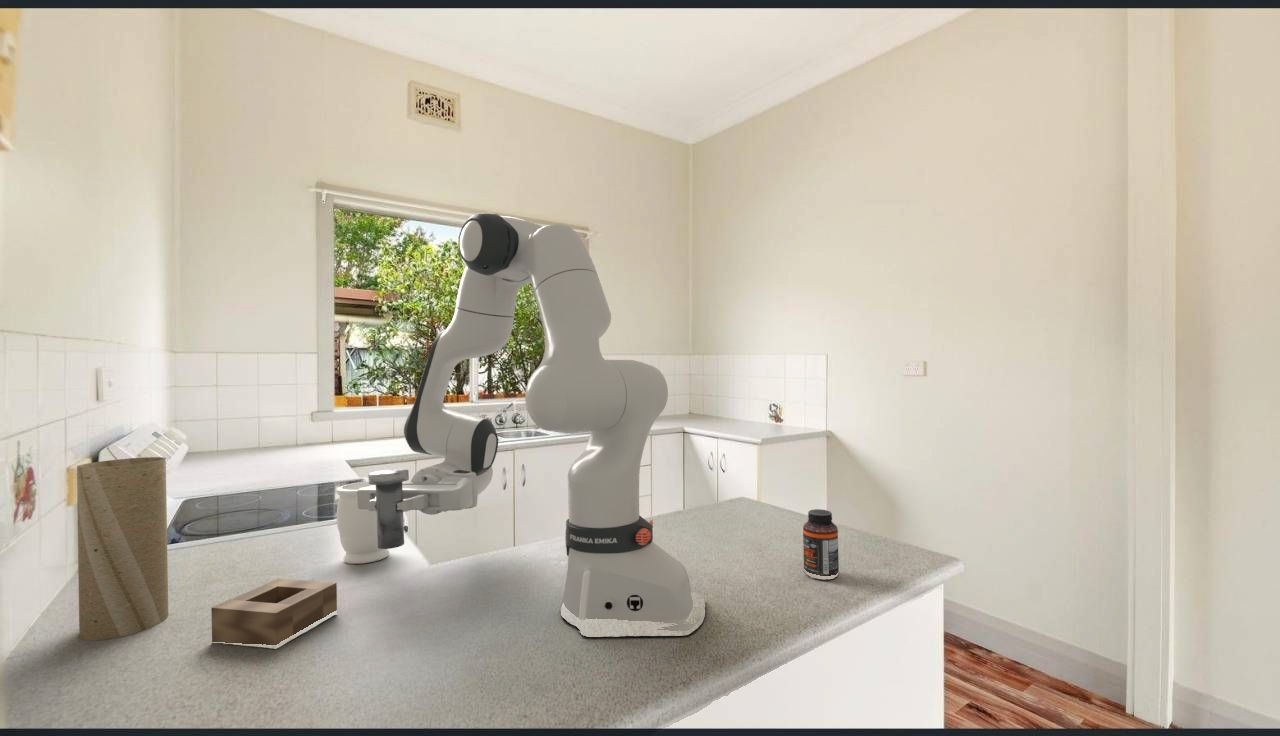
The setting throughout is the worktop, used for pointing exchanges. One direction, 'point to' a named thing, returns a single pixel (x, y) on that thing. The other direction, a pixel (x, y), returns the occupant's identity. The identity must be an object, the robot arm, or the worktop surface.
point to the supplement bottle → (820, 544)
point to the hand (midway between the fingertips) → (386, 506)
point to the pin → (389, 506)
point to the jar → (357, 527)
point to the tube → (122, 546)
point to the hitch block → (273, 611)
